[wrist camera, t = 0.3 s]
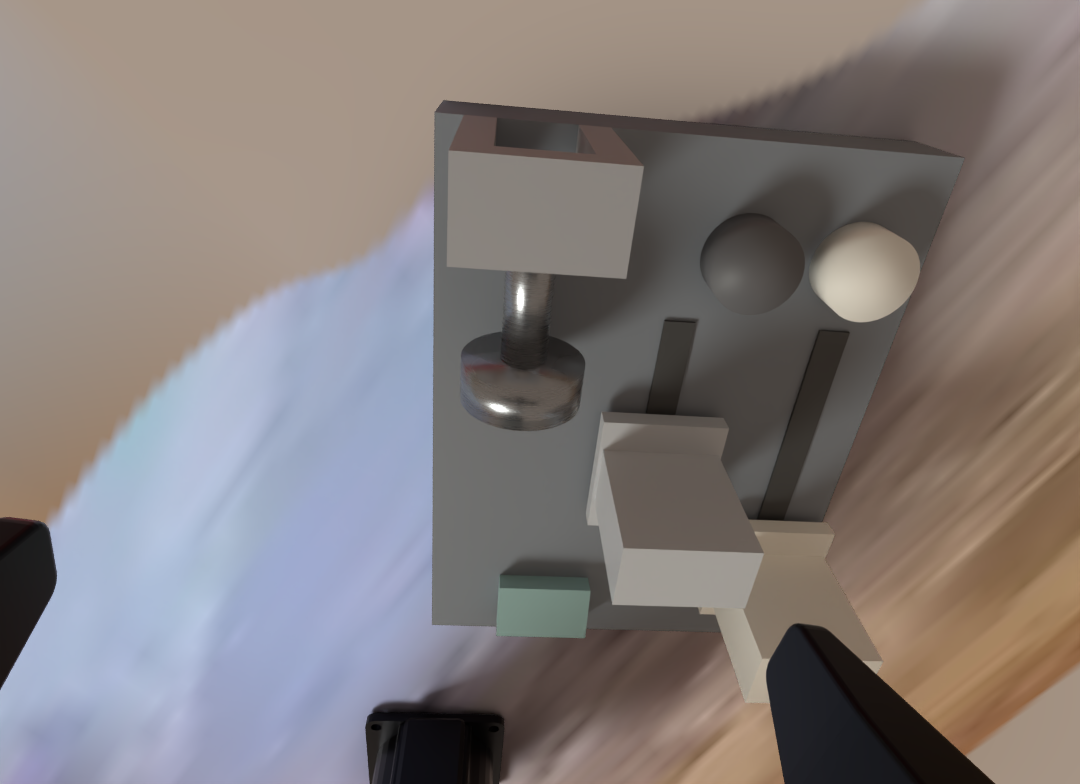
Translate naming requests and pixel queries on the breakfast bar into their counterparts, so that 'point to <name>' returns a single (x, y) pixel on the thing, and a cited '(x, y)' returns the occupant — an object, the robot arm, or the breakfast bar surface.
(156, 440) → the breakfast bar surface
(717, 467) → the white stepped block
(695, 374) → the console
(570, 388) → the plunger
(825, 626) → the cream flanged block
